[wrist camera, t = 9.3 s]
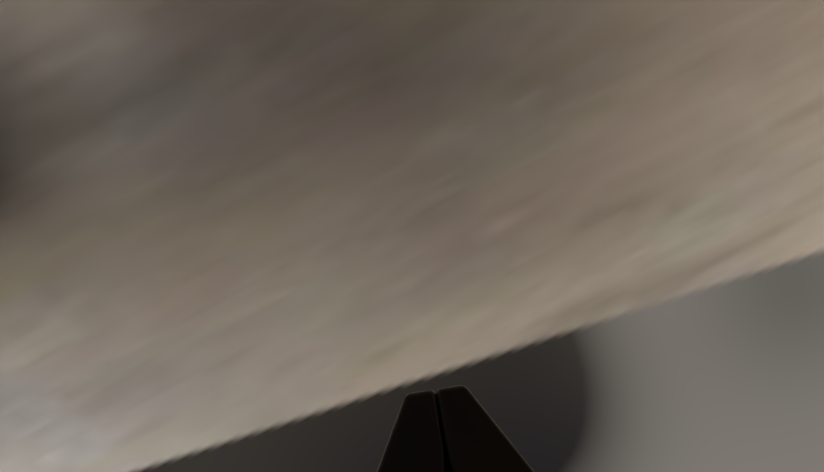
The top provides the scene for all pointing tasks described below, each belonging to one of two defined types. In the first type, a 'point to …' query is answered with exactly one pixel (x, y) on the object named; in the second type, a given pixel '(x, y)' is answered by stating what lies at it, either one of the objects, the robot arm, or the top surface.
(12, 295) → the top surface
